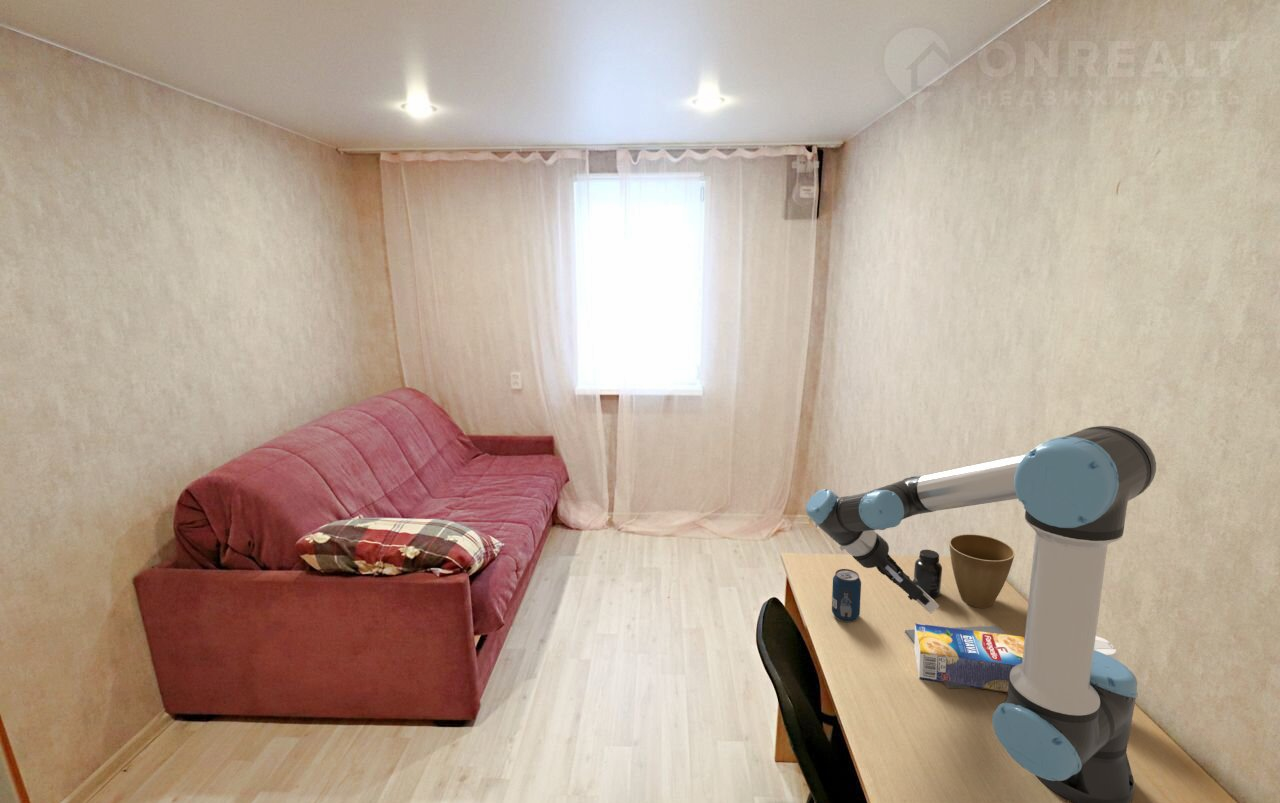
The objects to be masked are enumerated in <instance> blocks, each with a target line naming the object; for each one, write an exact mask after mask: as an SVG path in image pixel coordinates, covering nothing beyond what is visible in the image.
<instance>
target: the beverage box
mask: <svg viewBox="0 0 1280 803" xmlns="http://www.w3.org/2000/svg"><path fill="white" fill-rule="evenodd" d="M956 628H957V627H947V626H939V625H938V626H937V625H932V624H931V625H929V624H924V623H914V630H915V644H914V643H913V644H914V647H913V648H914V654H915V661H916V666H917V667H916V668H917V672H918V674H917V675H918V679H919V680H923V681H930V682H937V683H942V684H945V683H944V681H948V682H954V683H959V684H965V685H970V687H974V688H975V689H976V688H977V689H981V690H988V691H994V692H1001V693H1007V694H1008V686H1009V676H1010V672H1011V669H1012V668H1013V667H1014V666H1016V665H1018V664H1021V663H1022V660H1023V651H1024V641H1025V636H1019V635H1013V634H1012V635H1011V634H1006V633H1005V634H1006V635H1005V634H996V633H988V632H980V631H972V630H964V629H956Z"/></svg>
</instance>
